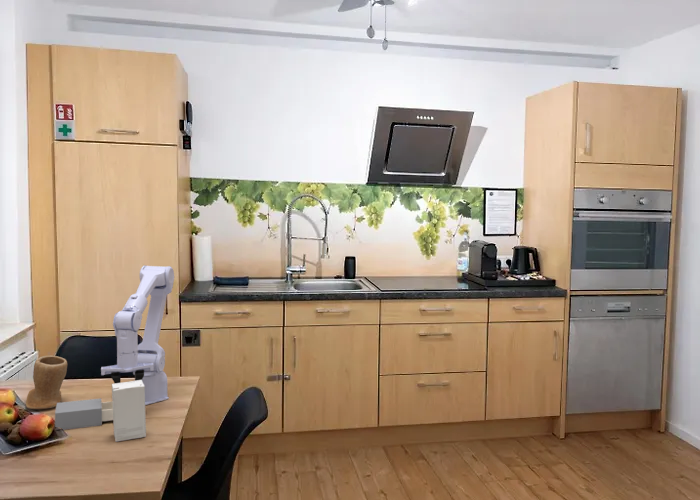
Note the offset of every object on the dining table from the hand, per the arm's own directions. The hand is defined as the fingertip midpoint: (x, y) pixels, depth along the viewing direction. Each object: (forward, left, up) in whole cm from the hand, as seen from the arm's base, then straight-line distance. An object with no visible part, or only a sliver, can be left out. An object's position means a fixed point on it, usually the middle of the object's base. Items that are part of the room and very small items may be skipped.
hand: (127, 395), depth 178 cm
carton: (+12, -6, -6) cm, 15 cm away
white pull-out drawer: (+5, -2, -6) cm, 8 cm away
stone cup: (+11, -28, -7) cm, 31 cm away
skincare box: (+7, +13, -7) cm, 17 cm away
